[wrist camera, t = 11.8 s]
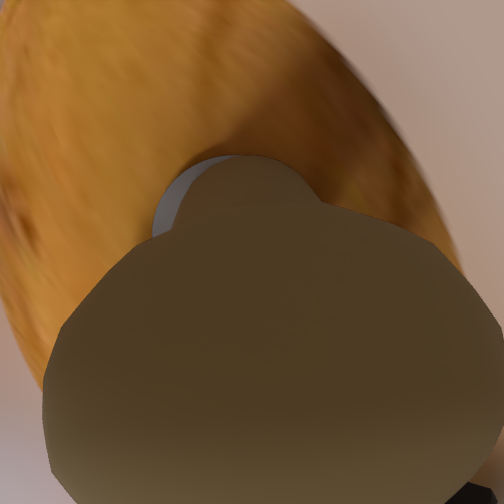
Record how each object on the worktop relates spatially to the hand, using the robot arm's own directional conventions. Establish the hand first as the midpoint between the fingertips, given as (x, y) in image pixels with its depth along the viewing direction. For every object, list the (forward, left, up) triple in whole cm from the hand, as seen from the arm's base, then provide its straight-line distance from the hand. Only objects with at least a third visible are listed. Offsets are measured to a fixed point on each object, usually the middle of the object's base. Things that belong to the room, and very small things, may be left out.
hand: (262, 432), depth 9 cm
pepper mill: (+7, 0, -5) cm, 8 cm away
